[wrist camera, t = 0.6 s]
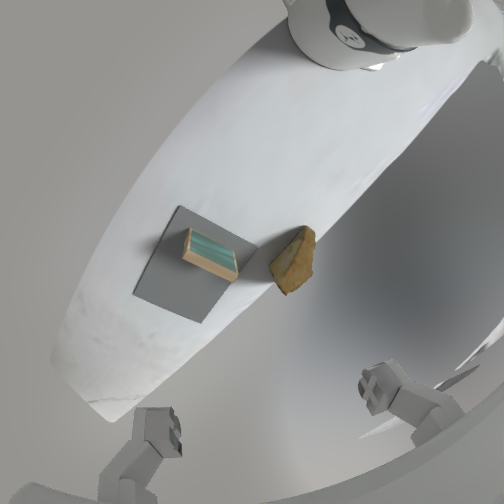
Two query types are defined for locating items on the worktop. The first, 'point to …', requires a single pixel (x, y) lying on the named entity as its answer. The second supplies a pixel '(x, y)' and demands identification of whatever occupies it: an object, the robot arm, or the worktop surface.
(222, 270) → the coaster
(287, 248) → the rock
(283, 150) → the worktop surface
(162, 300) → the mat
